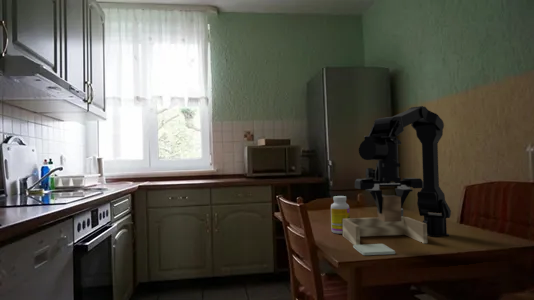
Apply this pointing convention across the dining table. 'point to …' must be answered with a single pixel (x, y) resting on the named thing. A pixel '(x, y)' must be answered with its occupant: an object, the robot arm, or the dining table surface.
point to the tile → (373, 249)
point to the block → (390, 208)
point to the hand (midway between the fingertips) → (389, 213)
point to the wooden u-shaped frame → (383, 228)
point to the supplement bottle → (339, 213)
